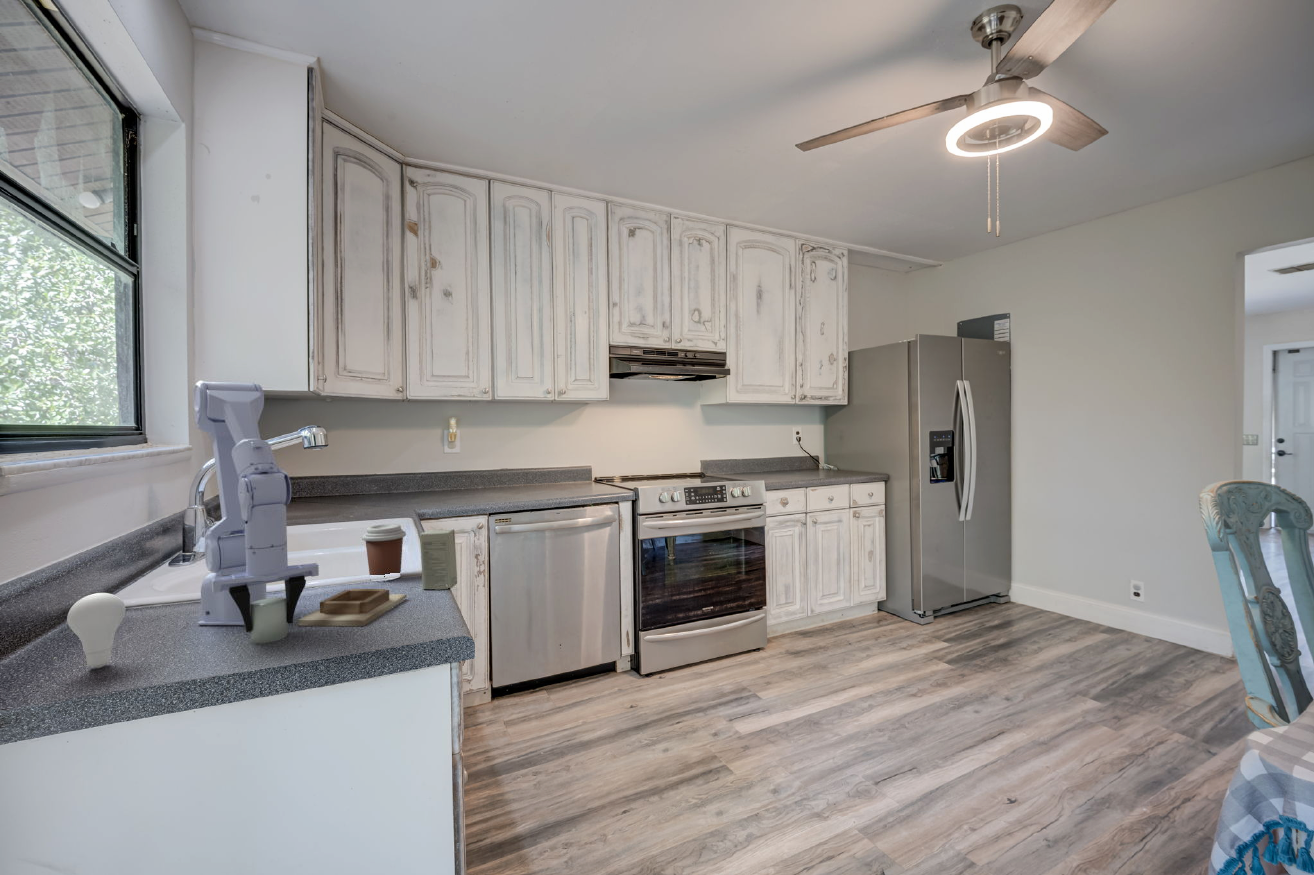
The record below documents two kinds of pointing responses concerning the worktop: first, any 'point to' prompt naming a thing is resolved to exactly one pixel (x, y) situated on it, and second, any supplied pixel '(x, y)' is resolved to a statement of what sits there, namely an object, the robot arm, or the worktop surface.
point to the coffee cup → (384, 548)
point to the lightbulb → (96, 625)
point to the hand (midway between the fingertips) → (269, 626)
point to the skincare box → (438, 559)
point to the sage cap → (268, 620)
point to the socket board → (352, 608)
